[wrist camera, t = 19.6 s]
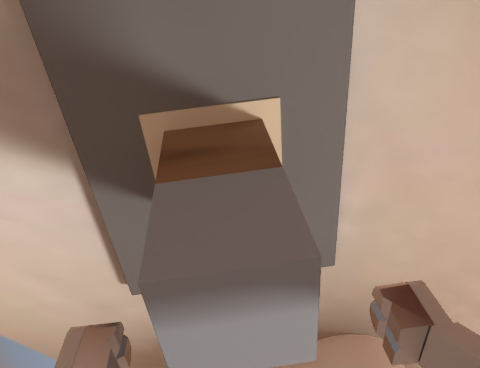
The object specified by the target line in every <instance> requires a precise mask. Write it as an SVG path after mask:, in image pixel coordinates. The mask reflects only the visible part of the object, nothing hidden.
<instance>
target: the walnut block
mask: <svg viewBox="0 0 480 368" xmlns="http://www.w3.org/2000/svg"><path fill="white" fill-rule="evenodd" d="M277 167H282V164H281V162H280V160H279V157H278V155H277V153H276V150H275V148H274V146H273V143H272V141H271V138H270V136H269V134H268V131H267V129H266V127H265V124H264V122H263V120H262V119H256V120H248V121H240V122H232V123H224V124H216V125H209V126H201V127H193V128H185V129H177V130H169V131H164V134H163V140H162V146H161V152H160V158H159V163H158V169H157V175H156V181H155V184H158V183H165V182H173V181H180V180H188V179H195V178H203V177H210V176H217V175H225V174H232V173H240V172H247V171H255V170H262V169H270V168H277Z"/></svg>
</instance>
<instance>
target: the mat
mask: <svg viewBox="0 0 480 368" xmlns="http://www.w3.org/2000/svg"><path fill="white" fill-rule="evenodd" d="M19 1H20V3H21V6H22V9H23V11H24V14H25V17H26V19H27V22H28V24H29V27H30V30H31V32H32V35H33V37H34V40H35V43H36V45H37V48H38V51H39V53H40V56H41V58H42V61H43V64H44V66H45V69H46V72H47V74H48V77H49V79H50V82H51V85H52V87H53V90H54V92H55V95H56V98H57V100H58V103H59V106H60V108H61V111H62V113H63V116H64V119H65V121H66V124H67V126H68V129H69V132H70V134H71V137H72V140H73V142H74V145H75V147H76V150H77V153H78V155H79V158H80V161H81V163H82V166H83V168H84V171H85V174H86V176H87V179H88V181H89V184H90V187H91V189H92V192H93V195H94V197H95V200H96V202H97V205H98V208H99V210H100V213H101V215H102V218H103V221H104V223H105V226H106V229H107V231H108V234H109V236H110V239H111V242H112V244H113V247H114V250H115V252H116V255H117V257H118V260H119V263H120V265H121V268H122V270H123V273H124V276H125V278H126V281H127V284H128V286H129V289H130V291H131V294H132V295H137V294H141V291H140V288H139V285H138V281H139V275H140V269H141V263H142V257H143V251H144V245H145V239H146V233H147V228H148V222H149V216H150V210H151V204H152V198H153V192H154V186H155V181H156V175H157V169H158V163H159V158H160V152H161V146H162V140H163V134H164V131H169V130H177V129H185V128H193V127H201V126H209V125H216V124H224V123H232V122H240V121H248V120H256V119H262V120H263V122H264V124H265V127H266V129H267V131H268V134H269V136H270V138H271V141H272V143H273V146H274V148H275V150H276V153H277V155H278V157H279V160H280V162H281V164H282V167H283V168H284V171H285V173H286V175H287V178H288V180H289V182H290V185H291V187H292V189H293V192H294V194H295V196H296V199H297V201H298V203H299V206H300V208H301V211H302V213H303V215H304V218H305V220H306V222H307V225H308V227H309V229H310V232H311V234H312V236H313V239H314V241H315V243H316V246H317V248H318V250H319V253H320V255H321V267H327V266H333V265H335V253H336V240H337V227H338V215H339V202H340V189H341V176H342V164H343V151H344V138H345V126H346V113H347V100H348V87H349V75H350V62H351V49H352V36H353V24H354V11H355V0H19Z"/></svg>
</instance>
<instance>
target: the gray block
mask: <svg viewBox="0 0 480 368" xmlns="http://www.w3.org/2000/svg"><path fill="white" fill-rule="evenodd" d="M320 275H321V255H320V253H319V250H318V248H317V246H316V243H315V241H314V239H313V236H312V234H311V232H310V229H309V227H308V225H307V222H306V220H305V218H304V215H303V213H302V211H301V208H300V206H299V203H298V201H297V199H296V196H295V194H294V192H293V189H292V187H291V185H290V182H289V180H288V178H287V175H286V173H285V171H284V168H283V167H277V168H270V169H262V170H255V171H247V172H240V173H232V174H225V175H217V176H210V177H203V178H195V179H188V180H180V181H173V182H165V183H158V184H155V186H154V192H153V198H152V204H151V210H150V216H149V222H148V228H147V233H146V239H145V245H144V251H143V257H142V263H141V269H140V275H139V281H138V285H139V288H140V291H141V294H142V297H143V299H144V302H145V305H146V308H147V310H148V313H149V316H150V319H151V322H152V324H153V327H154V330H155V333H156V336H157V338H158V341H159V344H160V347H161V349H162V352H163V355H164V358H165V361H166V363H167V366H168V368H272V367H278V366H284V365H290V364H297V363H303V362H309V361H315V360H316V356H317V335H318V315H319V295H320Z"/></svg>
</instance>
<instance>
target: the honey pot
mask: <svg viewBox="0 0 480 368" xmlns="http://www.w3.org/2000/svg"><path fill="white" fill-rule="evenodd" d="M382 345H383V339H381V338H377V337H373V336H370V335H359V334H346V335H338V336H331V337H327V338H324V339H320V340H317V356H316V360H315V361H309V362H303V363H297V364H290V365H284V366H278V367H274V368H405V367H404V365H403V364H402V365H393V366H392V365H391V363H390V361H389V359H388V357H387V354H386V352H385V350H384V348H383V346H382Z"/></svg>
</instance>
